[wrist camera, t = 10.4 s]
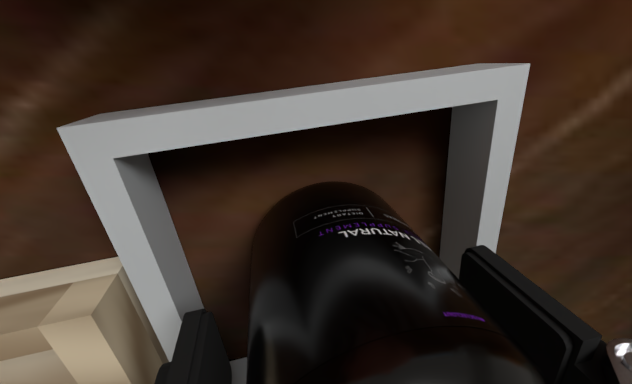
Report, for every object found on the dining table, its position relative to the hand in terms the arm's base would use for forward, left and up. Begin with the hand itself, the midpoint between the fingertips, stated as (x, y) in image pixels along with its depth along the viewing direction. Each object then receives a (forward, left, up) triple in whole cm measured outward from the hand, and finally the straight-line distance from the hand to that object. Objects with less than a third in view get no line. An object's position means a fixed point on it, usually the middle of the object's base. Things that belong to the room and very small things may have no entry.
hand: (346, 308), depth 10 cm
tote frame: (0, 0, -4) cm, 4 cm away
